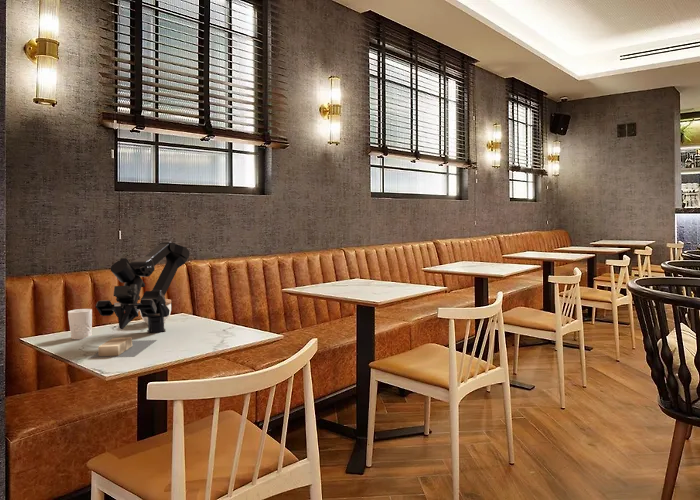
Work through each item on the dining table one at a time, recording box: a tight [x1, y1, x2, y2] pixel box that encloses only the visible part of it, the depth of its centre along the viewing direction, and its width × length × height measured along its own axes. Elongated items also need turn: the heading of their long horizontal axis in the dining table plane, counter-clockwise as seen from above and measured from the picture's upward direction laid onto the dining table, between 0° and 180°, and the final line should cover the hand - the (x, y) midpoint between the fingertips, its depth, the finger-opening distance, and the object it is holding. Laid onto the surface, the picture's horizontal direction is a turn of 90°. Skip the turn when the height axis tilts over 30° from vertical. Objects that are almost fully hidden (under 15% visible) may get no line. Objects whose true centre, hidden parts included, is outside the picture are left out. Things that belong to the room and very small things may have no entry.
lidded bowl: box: [138, 298, 172, 325], centre depth 222 cm, size 13×13×11 cm
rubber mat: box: [89, 339, 158, 359], centre depth 178 cm, size 22×14×1 cm, turn 2°
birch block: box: [97, 336, 133, 356], centre depth 174 cm, size 3×6×12 cm
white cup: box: [67, 308, 93, 340], centre depth 199 cm, size 8×8×10 cm
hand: (120, 328), depth 179 cm, fingers closed
